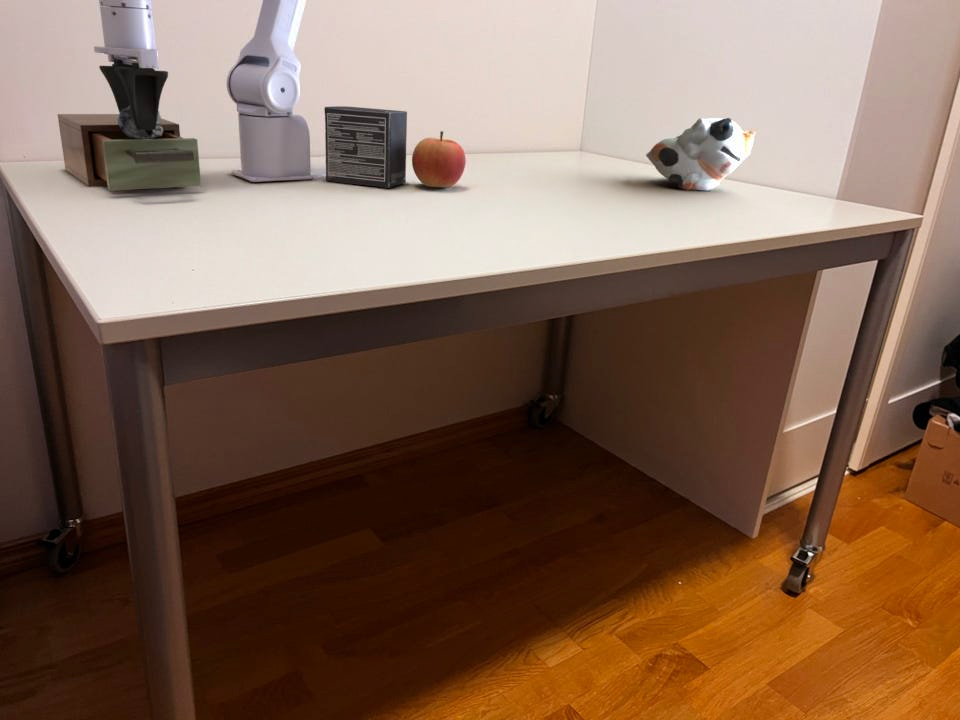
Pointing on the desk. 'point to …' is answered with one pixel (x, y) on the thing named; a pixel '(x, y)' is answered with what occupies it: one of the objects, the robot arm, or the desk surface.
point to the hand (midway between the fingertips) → (139, 126)
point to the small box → (365, 146)
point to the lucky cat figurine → (702, 153)
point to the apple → (438, 162)
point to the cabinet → (79, 145)
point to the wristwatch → (130, 128)
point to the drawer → (144, 160)
